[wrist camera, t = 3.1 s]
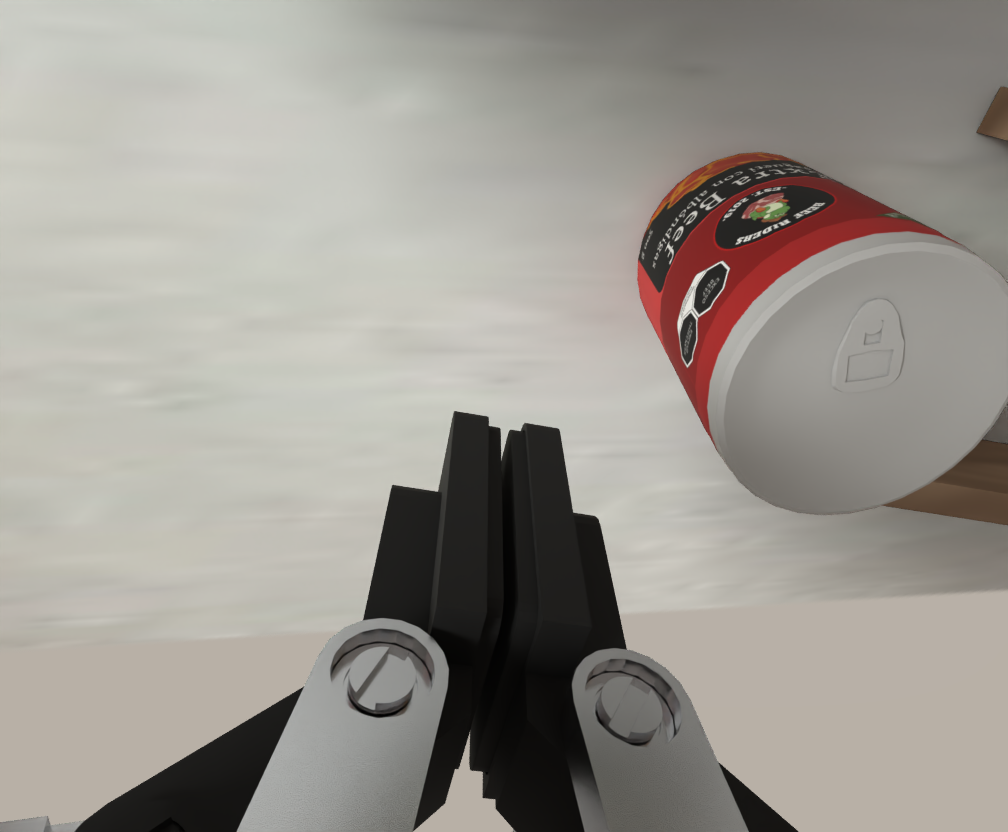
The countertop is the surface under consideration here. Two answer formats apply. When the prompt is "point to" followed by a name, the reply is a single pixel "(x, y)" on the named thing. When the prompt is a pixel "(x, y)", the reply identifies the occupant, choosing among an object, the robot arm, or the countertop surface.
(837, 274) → the canned food
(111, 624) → the countertop surface
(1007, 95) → the walnut holder
